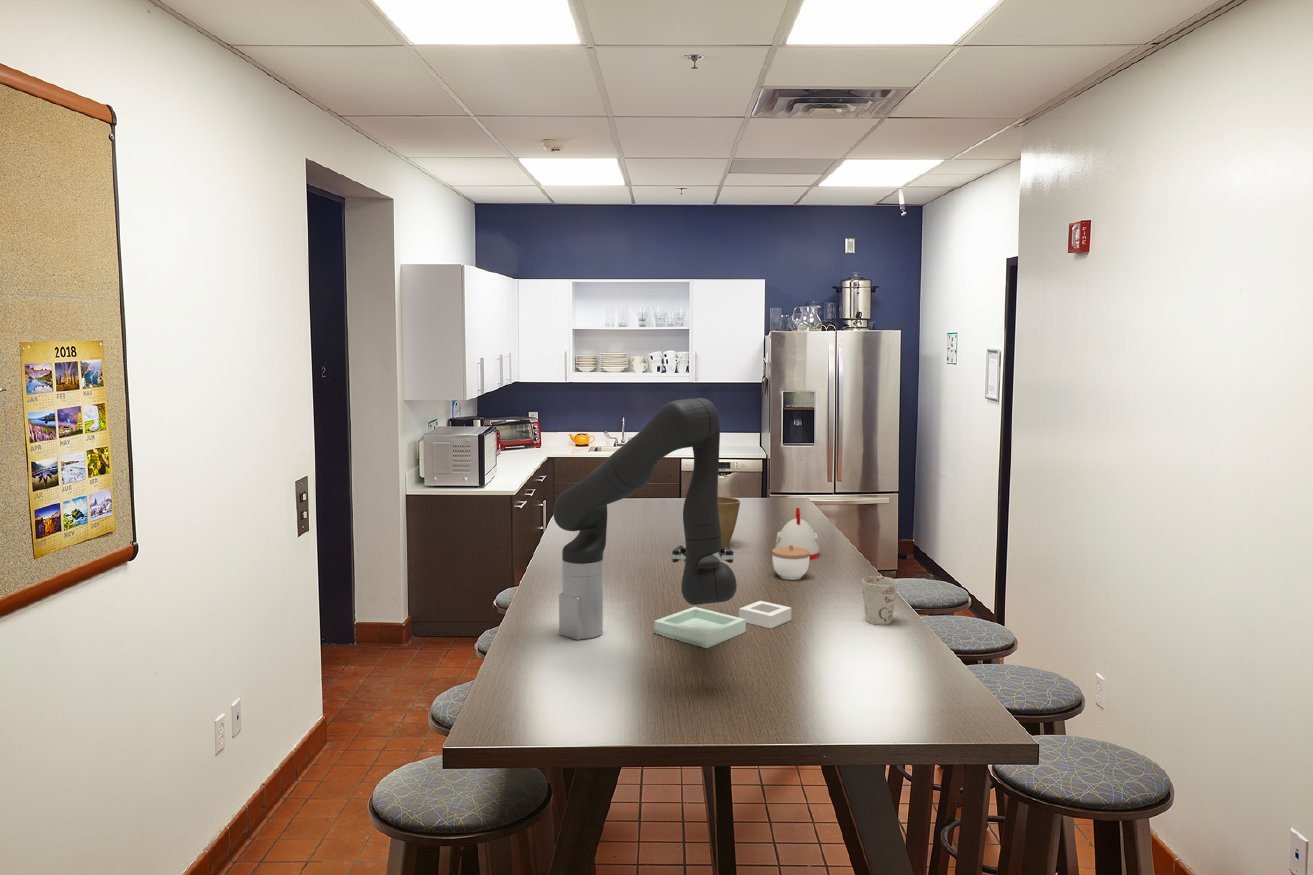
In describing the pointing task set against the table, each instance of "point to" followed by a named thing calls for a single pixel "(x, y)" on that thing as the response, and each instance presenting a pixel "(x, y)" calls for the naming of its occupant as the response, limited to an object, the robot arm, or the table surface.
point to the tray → (700, 627)
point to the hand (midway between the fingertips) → (700, 546)
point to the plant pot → (727, 517)
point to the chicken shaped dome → (799, 536)
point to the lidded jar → (790, 562)
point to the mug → (879, 599)
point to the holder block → (765, 614)
